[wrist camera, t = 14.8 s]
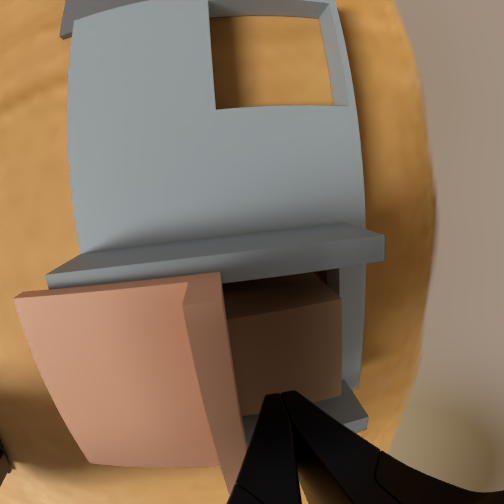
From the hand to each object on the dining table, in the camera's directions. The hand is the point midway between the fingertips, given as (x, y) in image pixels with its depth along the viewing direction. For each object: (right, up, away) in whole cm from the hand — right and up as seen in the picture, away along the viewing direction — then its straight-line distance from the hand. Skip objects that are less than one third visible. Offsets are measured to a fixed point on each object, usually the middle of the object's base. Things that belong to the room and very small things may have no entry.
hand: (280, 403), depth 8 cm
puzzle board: (-2, +6, +4) cm, 8 cm away
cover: (-4, 0, +1) cm, 5 cm away
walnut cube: (0, +1, +6) cm, 6 cm away
